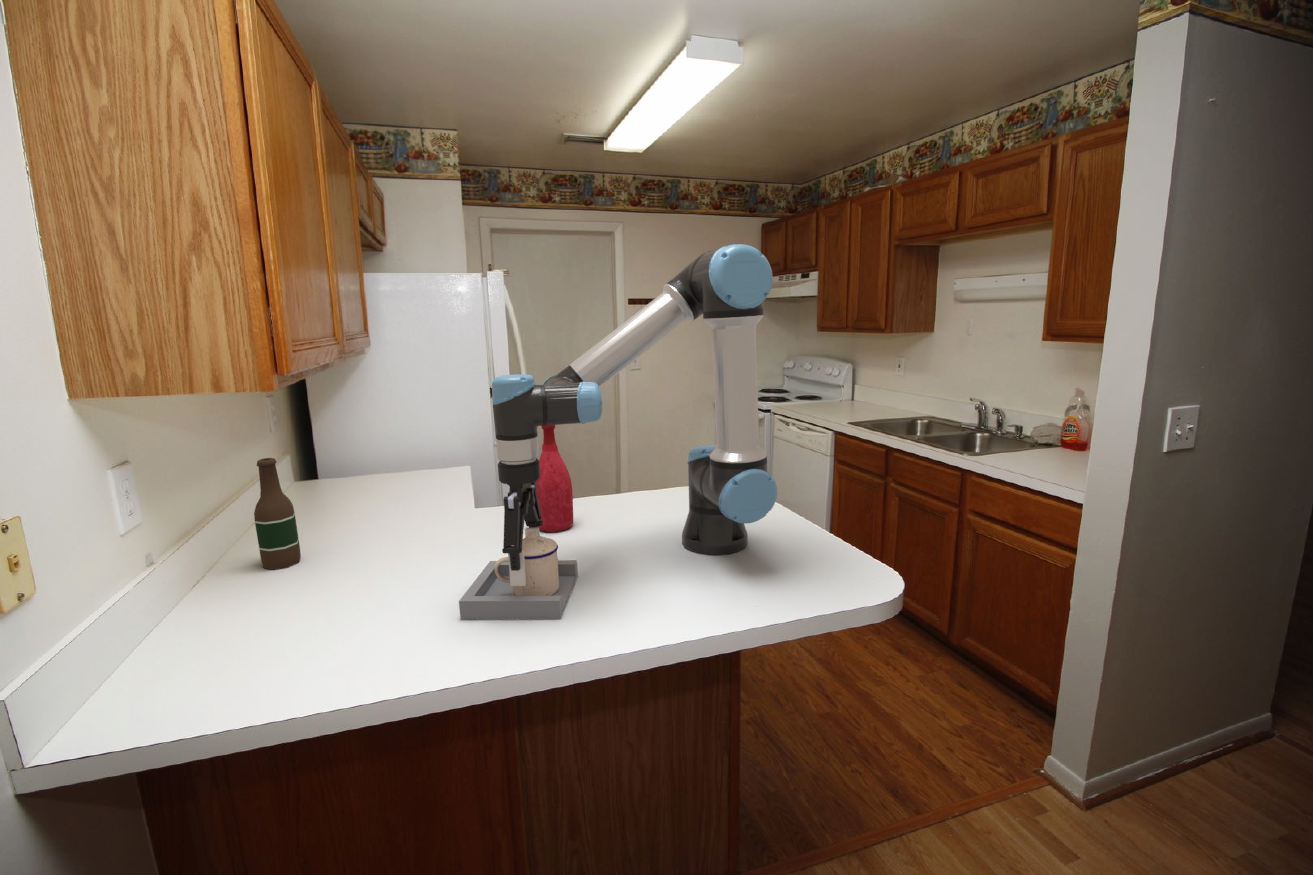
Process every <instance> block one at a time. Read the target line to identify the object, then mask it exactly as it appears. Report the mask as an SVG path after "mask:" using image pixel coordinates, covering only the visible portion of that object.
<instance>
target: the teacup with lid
mask: <svg viewBox="0 0 1313 875" xmlns="http://www.w3.org/2000/svg"><path fill="white" fill-rule="evenodd" d="M558 549H559V545H558V544H557V541H556V540H554V539H552V538H550V537H546V536H541V535H540V536H538V533H537V532H534V531H533V532H529V533H528V534H527V537H526V538H525V537H523V541H522V550H524V559H525V573H526V585H525V586H513V590H514V594H515V595H516V596H551V595H553V594H554V593H556V592H557V591H558V589H559V575H558ZM496 561H497V562H496V564H495V574H496V576H497V577H498V579H499V580H501V581H502V582H506V583H510V578H506V577H503V576H502V575H501V574H500V572H499V570H498V567H499V565H500V564H501V563H503V562H509V561H508V556H505V557H501V558H499V559H498V560H496Z"/></svg>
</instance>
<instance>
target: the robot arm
mask: <svg viewBox="0 0 1313 875" xmlns="http://www.w3.org/2000/svg"><path fill="white" fill-rule="evenodd" d="M773 276H774V274H773V270H772V267H771V265H770V262H769V261H768V259H767V257H766V256H765V255H764V254H763V253H762V252H761V251H760V250H759V249H757V248H755V247H754V246H751V245H748V244H736V243H735V244H729V245H723V246H722V247H720V248H717V249H714V250H709V251H706V252H704V253H702V254H700V255H699V256H697V257H696V258H694V259H693V260H692V261H691V262H690V263H688V264H687V265H686V266H685V267H684V268H683V269H682V270H681V271H679V273H677V274H676V275H675V276H674V277H672V278H671V279H669V281H667V283H665V284H664V285H663V289H662V293H660V294H659V295H658V296H657V297H655V298H654V299H652V300H651V301H649V302H648V304H646V305H645V306H644V307H642V308H641V309H640V310H638V311H637V312H636V313H634V314H633V315H632V316H631V317H630V318H628V319H627V320H626V321H624V322H623V323H621V324H620V325H618V326H617V328H615V329H613V330H612V331H611V332H610V333H609V334H608V335H605V337H604V338H602V339H601V340H599V341H598V342H597V343H596V344H594V345H593V346H591V348H589V349H587V351H585V352H584V353H583V354H581V355H580V356H579V357H577V358H576V359H575V360H574V361H572V362H571V363H570V364H569V365H568V366H566V367H564V368H563V369H562V370H561V371H560V372H558V373H557V374H555V375H552V376H551V375H550V376H549V377H547V378H546V379H545V380H544V381H543V383H542V384H536V382H535V378H534V377H533V375H532V374H526V373H525V374H522V373H521V374H505V375H498V376H496V377H494V378H493V380H492V382H491V396H492V401H491V403H492V411H493V412H492V413H493V423H494V433H495V442H493V447H494V448H496V456H497V457H496V458H497V460H499V462H498V463H497V473H498V480H499V482H500V484H501V483H502V485H507V486H508V487H509V492H508V493H507V496H504V497H503V508H504V512H503V513H504V514H503V515H504V517H503V548H502V549H501V550H502V553H503V554H507V557H508V561H509V573H510V586H525V585H526V573H525V559H524V550H522V541H523V539H524V538H526V537H527V534H528V533H529V532H533V531H534V532H537V533H538V536H541V535H540V533H541V532H540V530H539V527H537V526H543V521H539V520H541V518H542V516H541V511H540V506H539V500H538V495H537V489H536V481H537V480H538V479H539V478H540V462H539V459H538V457H540V448H539V446H540V445H539V435H538V427H541V426H546V425H555V426H558V425H559V426H560V425H573V424H576V425H577V424H582V425H584V424H586V423H594V422H598V421H599V420H600V419H601V418H602V414H603V398H602V391H601V387H603V386H604V385H605V384H606V383H608V382H609V381H610V380H612V379H613V378H614V377H615V376H616V375H619V373H620V372H622V371H623V370H625V369H626V368H627V367H628V366H630V365H631V364H632V363H634V362H635V361H636V360H637V359H638V358H640V357H641V356H642V355H644V354H645V353H646V352H648V351H649V350H650V349H651V348H652V347H654V346H655V345H656V344H658V343H659V342H661V340H663V339H664V338H665V337H667V336H669V334H670V333H672V332H673V331H674V330H676V329H677V328H678V327H680V326H681V325H682V324H683V323H692V322H694V321H695V320H696V319H698V318H700V317H701V316H703V317H702V319H703V321H704V323H706V324H707V325H708V326H709V327H710V329H711V345H712V346H711V347H712V348H711V349H712V367H713V368H712V369H713V393H714V395H713V396H714V414H715V415H714V417H715V439H716V440H715V441H716V444H707V445H705V444H704V445H699V446H693V447H691V449H689V450H688V451H689V452H688V458H687V463H686V464H687V468H688V469H687V470H688V471H687V473H688V474H687V475H688V476H687V477H688V513H687V517H686V519H685V520H686V521H685V522H684V523H685V524H684V525H683V530H682V533H681V534H682V535H681V544H682V545H683V547H684V548H685V549H687V550H689V551H691V552H695V553H698V554H703V555H727V554H733V553H736V552H740V551H741V550H744V549H745V548H746V547H747V546H748V544H749V543H748V541H749V540H748V536H749V535H748V531H747V529H746V525H745V524H752V523H756V522H758V521H760V520H762V519H763V518H765V517H766V516H767V514H768V513H769V512H770V511H771V510H772V509H773V508H774V506H775V503H776V501H777V498H778V487H777V486H778V485H777V482H776V481H775V479H774V477H773V476H772V475H771V474H770V473H769V472H768V454H767V452H766V451H765V450H764V449H763V448H762V447H761V445H760V433H759V431H760V430H759V429H760V428H759V396H758V360H757V325H758V324H759V322H761V320H762V319H763V318H764V301H765V300H766V299H767V298H768V295H769V294H770V293H771V289H772V287H773V279H774V278H773ZM524 525H525V526H526V527H525V526H524ZM524 527H525V528H524ZM524 533H525V534H524Z"/></svg>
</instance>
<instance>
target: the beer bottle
mask: <svg viewBox="0 0 1313 875" xmlns="http://www.w3.org/2000/svg"><path fill="white" fill-rule="evenodd" d="M276 464H277V459H276V458H274V457H265V458H261V459H258V460H257V462H256V466H257V467H258V474H259V487H260V495H259V496H260V497H259V499H258V501H257V503H256V504H255V509H254V513H253V514H254V515H253V516H254V525H255V531H256V538H257V543H258V548H259V549H258V550H259V556H260V561H261V565H262V569H266V570H271V571H274V570H281V569H287V568H290V567H292V566H295V565H297V564H299V563H300V560H301V557H302V556H301V555H302V554H301V547H300V546H301V545H300V541H299V540H300V538H299V533H298V526H297V520H296V513H295V509H294V508H295V507H294V504H293V503H292V500H291V499H290V498H289V497H288V496H287V495H286V494H285V493H284V492H283V489H282V488H281V484H280V479H279V475H278V470H277V467H276Z"/></svg>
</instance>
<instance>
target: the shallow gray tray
mask: <svg viewBox="0 0 1313 875" xmlns="http://www.w3.org/2000/svg"><path fill="white" fill-rule="evenodd" d="M497 561H498V560H489V562H488V563H487V564H486V566H485V567H484V568H483V569H482V571H481V572H480V573H479V575H478V576H477V578H476V579H475V580H474V581H473V582H472V584H471V585H470V586H469V587H468V589H467V590H466V591H465V593H464V594H463V595H462V597H461V598H460V599H459V600H458V608H459V616H460V617H459V618H460V620H561V619H562V616H563V615H564V612H565V609H566V606H567V604H568V601H569V599H570V597H571V594H572V591H573V589H574V587H575V584H576V581H577V579H578V578H579V576H578V575H579V572H578V560H577V559H573V560H572V559H569V560H568V559H566V560H563V559H561V560H558V575H559V589H558V591H557V592H556V593H554V594H553V595H551V596H516V595H515V594H514V590H513V586H510V583H506V582H502V581H501V580H499V579H498V577H497V576H496V574H495V564H496V562H497ZM498 570H499V572H500V574H501V575H502V576H503V577H506V578H510V573H509V562H503V563H501V564H500V565H499V567H498Z"/></svg>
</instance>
